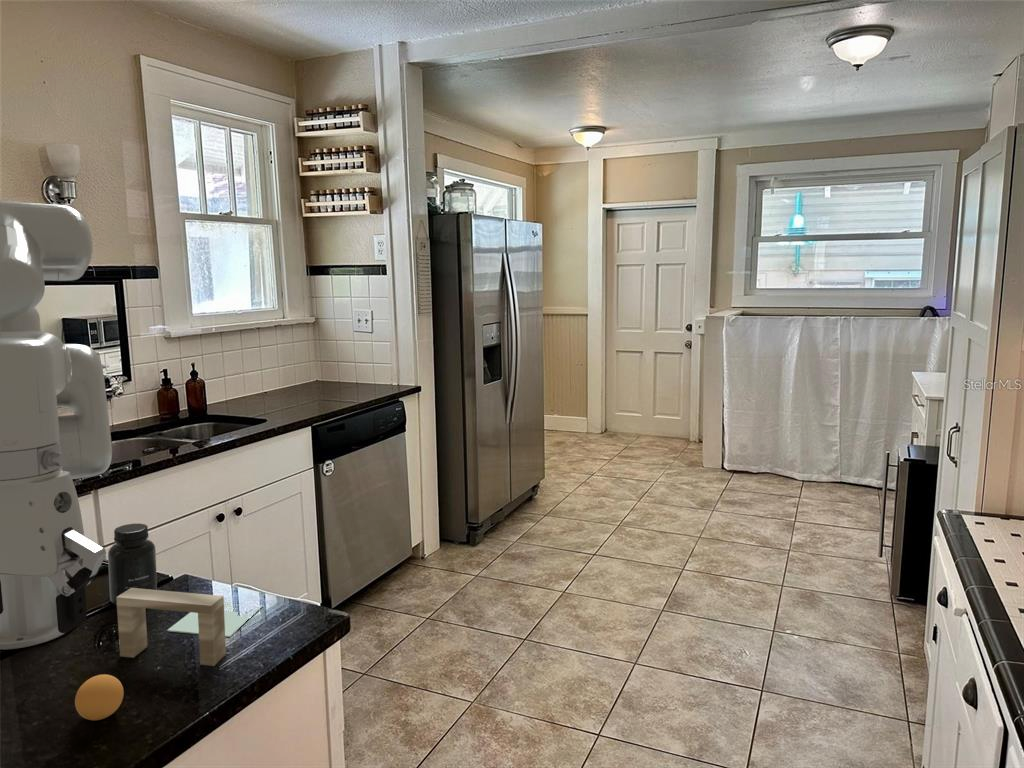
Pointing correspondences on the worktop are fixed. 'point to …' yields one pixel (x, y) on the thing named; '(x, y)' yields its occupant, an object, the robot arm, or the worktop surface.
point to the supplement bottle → (131, 560)
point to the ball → (99, 697)
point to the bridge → (205, 605)
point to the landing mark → (231, 619)
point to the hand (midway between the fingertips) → (30, 623)
